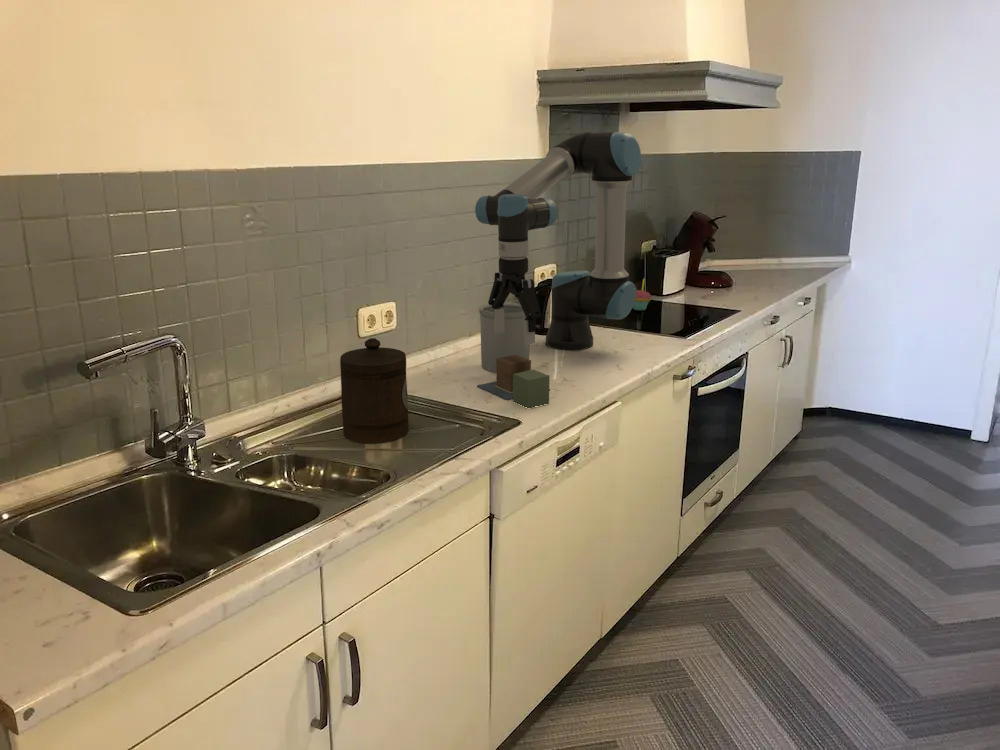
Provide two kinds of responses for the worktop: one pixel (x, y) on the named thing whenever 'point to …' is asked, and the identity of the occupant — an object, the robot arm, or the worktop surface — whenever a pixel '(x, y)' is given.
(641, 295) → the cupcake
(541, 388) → the olive block
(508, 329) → the utensil holder
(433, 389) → the worktop surface
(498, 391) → the blue square frame
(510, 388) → the walnut block
